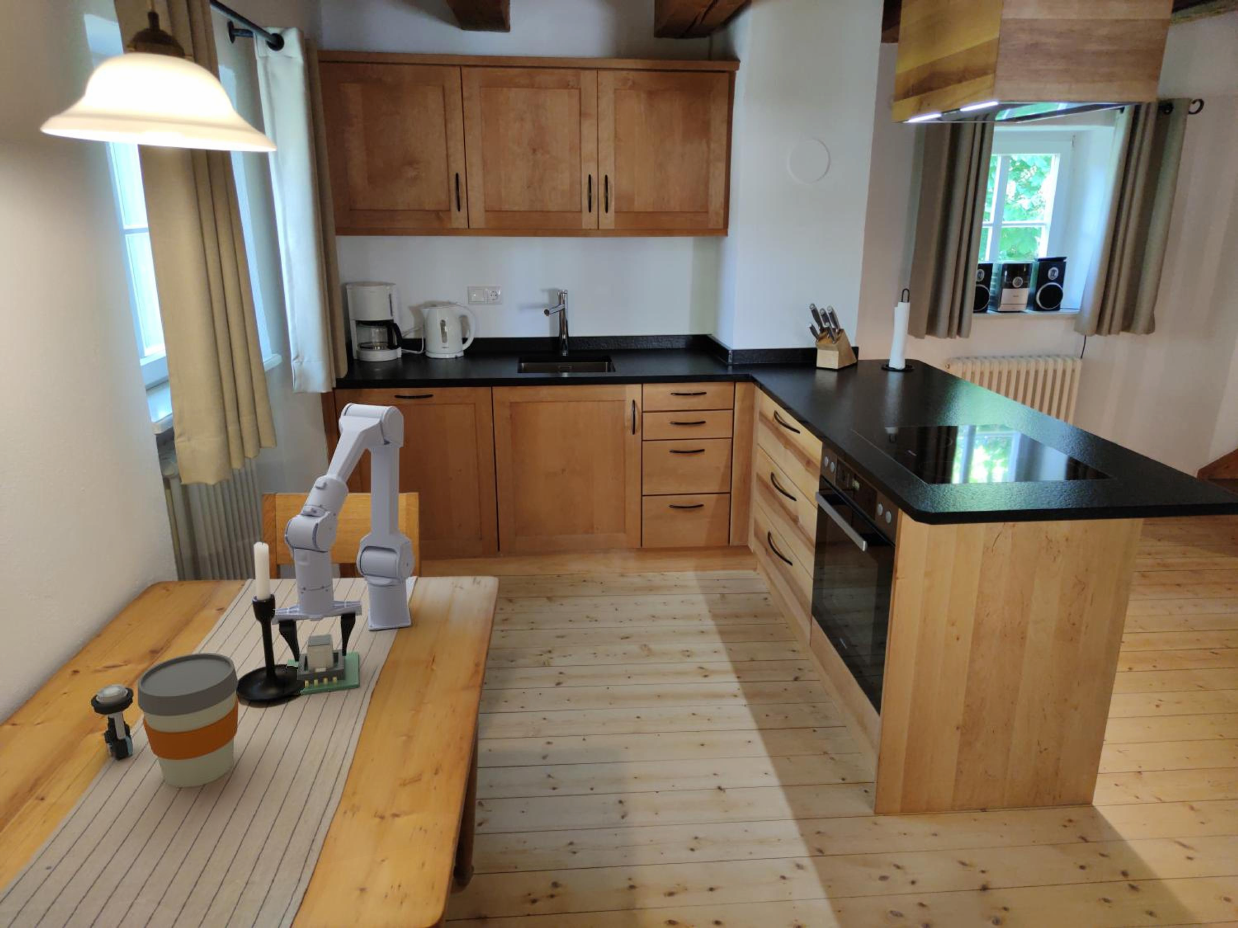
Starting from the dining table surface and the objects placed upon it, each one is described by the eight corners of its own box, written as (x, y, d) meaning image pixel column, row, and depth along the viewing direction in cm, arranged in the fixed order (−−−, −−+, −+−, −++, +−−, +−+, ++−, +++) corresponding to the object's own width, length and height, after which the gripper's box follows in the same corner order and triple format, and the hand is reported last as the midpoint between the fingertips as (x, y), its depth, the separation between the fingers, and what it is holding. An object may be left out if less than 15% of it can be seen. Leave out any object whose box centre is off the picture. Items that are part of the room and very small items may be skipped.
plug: (310, 668, 147) (307, 636, 145) (334, 665, 148) (331, 633, 146) (309, 680, 143) (306, 647, 141) (333, 677, 144) (331, 644, 142)
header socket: (288, 662, 150) (286, 648, 149) (358, 654, 153) (357, 640, 152) (283, 697, 139) (281, 681, 138) (358, 687, 142) (357, 672, 141)
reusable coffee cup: (197, 804, 112) (184, 705, 108) (128, 782, 116) (113, 686, 113) (266, 752, 124) (256, 661, 120) (200, 734, 128) (188, 645, 124)
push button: (91, 747, 124) (81, 687, 122) (130, 732, 128) (121, 674, 125) (107, 766, 120) (96, 704, 117) (147, 750, 124) (138, 690, 121)
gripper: (266, 597, 136) (274, 672, 139) (359, 588, 140) (365, 661, 143) (270, 580, 142) (277, 653, 146) (359, 572, 146) (364, 642, 150)
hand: (321, 656), depth 145 cm, fingers open, 7 cm apart
